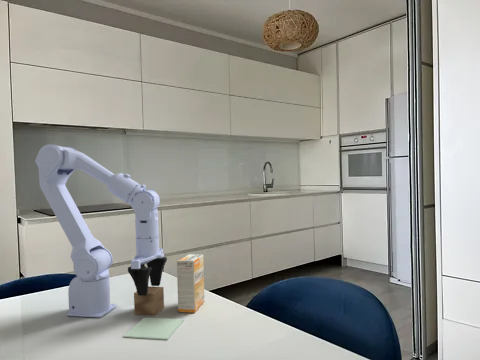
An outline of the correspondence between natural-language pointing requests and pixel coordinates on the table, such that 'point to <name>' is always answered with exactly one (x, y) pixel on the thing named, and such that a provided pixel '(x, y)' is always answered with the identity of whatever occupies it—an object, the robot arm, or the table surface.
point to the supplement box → (190, 282)
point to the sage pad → (154, 328)
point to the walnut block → (149, 302)
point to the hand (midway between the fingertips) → (149, 290)
